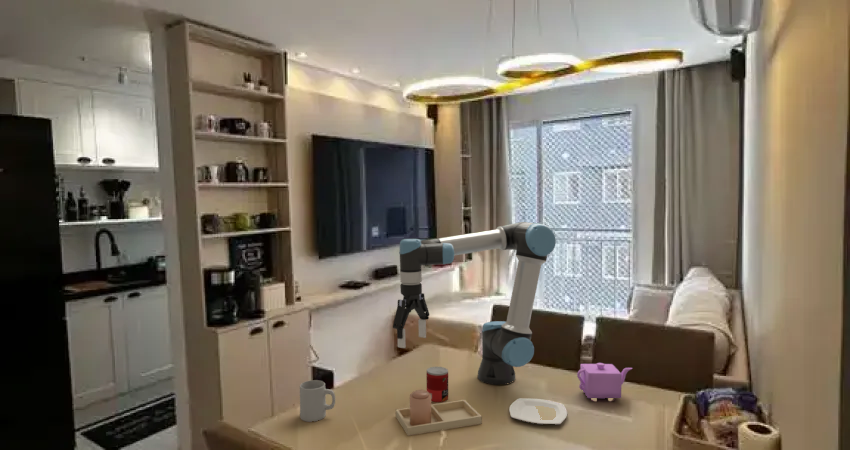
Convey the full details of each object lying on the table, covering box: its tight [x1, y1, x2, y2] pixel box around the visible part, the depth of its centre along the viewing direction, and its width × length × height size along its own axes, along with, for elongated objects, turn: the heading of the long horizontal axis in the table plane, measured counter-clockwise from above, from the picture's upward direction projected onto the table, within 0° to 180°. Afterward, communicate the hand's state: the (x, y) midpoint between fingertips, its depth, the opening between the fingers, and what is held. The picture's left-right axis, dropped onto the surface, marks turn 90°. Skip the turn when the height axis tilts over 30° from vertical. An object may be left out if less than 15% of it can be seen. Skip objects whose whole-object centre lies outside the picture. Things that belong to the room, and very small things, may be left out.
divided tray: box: [395, 399, 483, 437], centre depth 166 cm, size 25×14×3 cm, turn 109°
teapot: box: [576, 362, 634, 399], centre depth 185 cm, size 20×10×12 cm, turn 88°
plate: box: [509, 397, 568, 425], centre depth 171 cm, size 19×19×2 cm
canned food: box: [426, 366, 449, 403], centre depth 184 cm, size 8×8×11 cm
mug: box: [299, 379, 336, 423], centre depth 170 cm, size 12×8×11 cm
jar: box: [409, 389, 432, 426], centre depth 164 cm, size 7×7×10 cm
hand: (412, 342), depth 179 cm, fingers open, 13 cm apart
